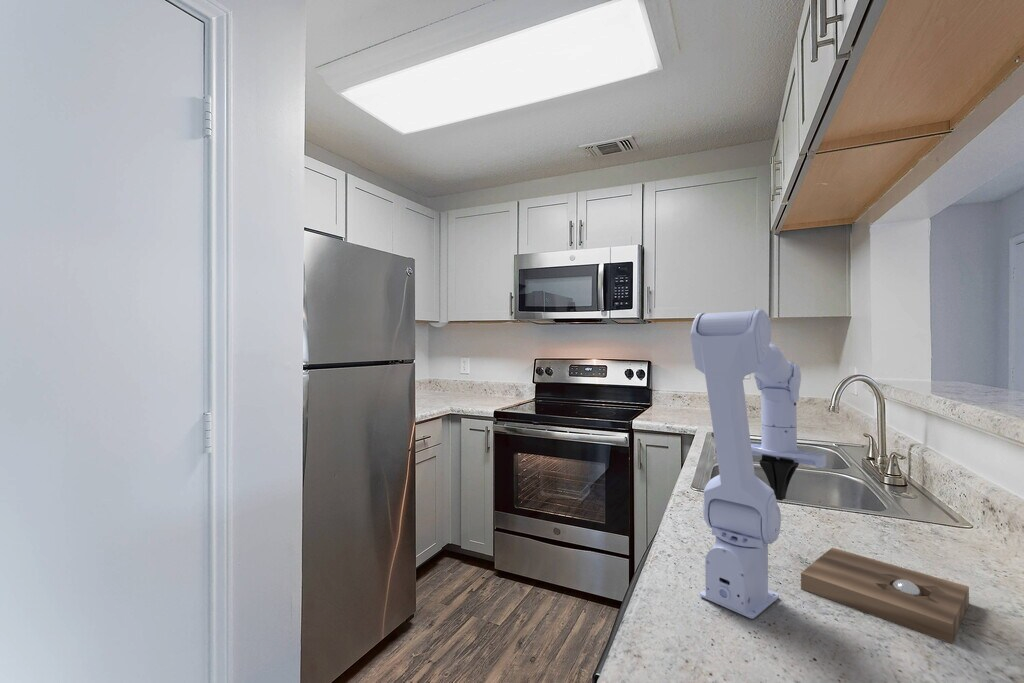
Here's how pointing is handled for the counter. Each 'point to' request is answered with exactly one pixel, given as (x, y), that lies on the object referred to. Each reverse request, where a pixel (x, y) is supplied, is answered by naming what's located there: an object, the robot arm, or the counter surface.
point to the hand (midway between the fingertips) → (779, 498)
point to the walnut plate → (888, 592)
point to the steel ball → (907, 587)
